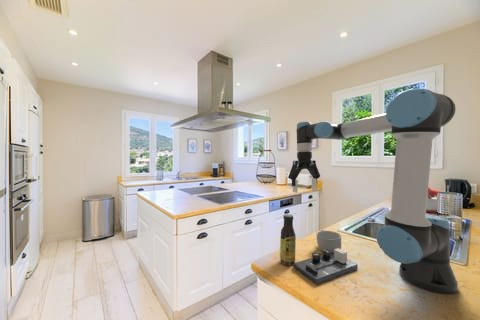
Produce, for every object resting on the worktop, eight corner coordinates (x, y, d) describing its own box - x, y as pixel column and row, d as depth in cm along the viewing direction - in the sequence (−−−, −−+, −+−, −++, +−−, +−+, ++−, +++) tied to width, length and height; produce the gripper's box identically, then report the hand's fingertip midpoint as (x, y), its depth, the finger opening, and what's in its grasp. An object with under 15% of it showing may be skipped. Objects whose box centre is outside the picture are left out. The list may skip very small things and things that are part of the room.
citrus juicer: (422, 213, 158) (422, 188, 158) (411, 208, 174) (411, 185, 174) (447, 215, 153) (447, 188, 153) (433, 209, 170) (433, 186, 170)
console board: (357, 269, 79) (357, 257, 79) (316, 284, 69) (316, 271, 69) (331, 256, 90) (331, 246, 90) (293, 268, 80) (293, 257, 80)
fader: (346, 262, 80) (346, 251, 80) (342, 263, 79) (342, 253, 79) (338, 257, 84) (338, 248, 84) (334, 259, 83) (334, 249, 83)
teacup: (344, 257, 89) (344, 239, 89) (318, 255, 91) (318, 237, 91) (336, 244, 102) (335, 228, 102) (313, 242, 104) (313, 227, 104)
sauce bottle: (286, 268, 80) (286, 218, 80) (277, 261, 86) (276, 214, 86) (299, 264, 83) (298, 216, 83) (288, 257, 89) (288, 212, 89)
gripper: (316, 152, 116) (316, 188, 116) (281, 151, 105) (281, 192, 105) (326, 151, 109) (327, 190, 109) (290, 150, 98) (291, 194, 98)
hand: (305, 191), depth 107 cm, fingers open, 13 cm apart
